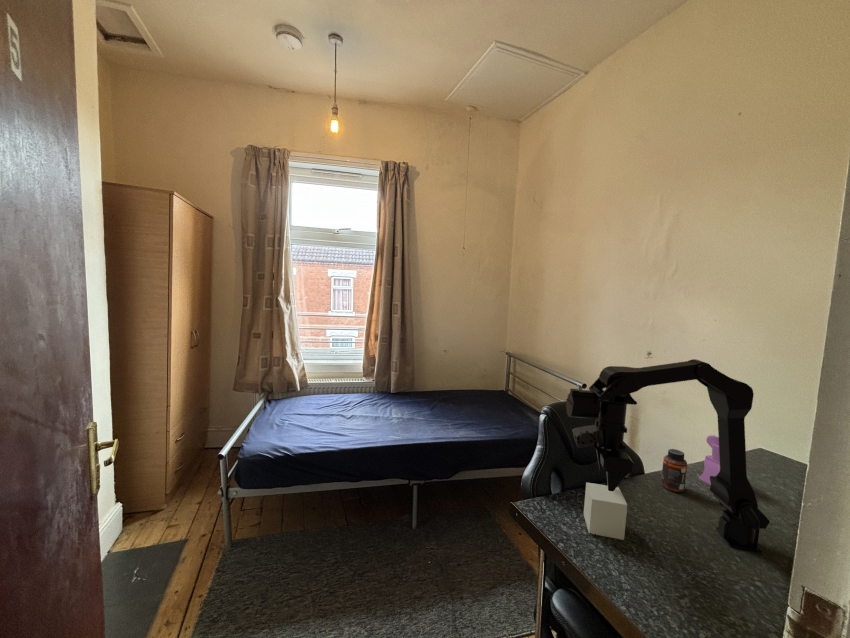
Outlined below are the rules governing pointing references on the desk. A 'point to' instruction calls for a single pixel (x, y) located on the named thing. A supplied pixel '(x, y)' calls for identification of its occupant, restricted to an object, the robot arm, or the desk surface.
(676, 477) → the supplement bottle
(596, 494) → the plain beige cube
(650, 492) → the desk surface
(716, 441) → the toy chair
